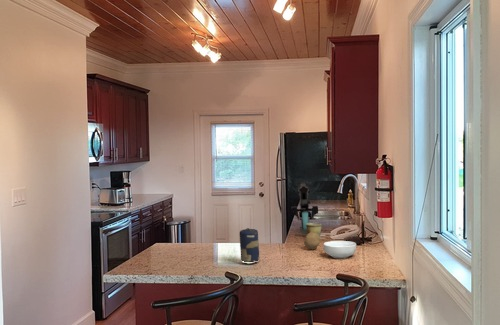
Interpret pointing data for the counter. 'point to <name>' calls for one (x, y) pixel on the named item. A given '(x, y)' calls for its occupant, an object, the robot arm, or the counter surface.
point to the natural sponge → (312, 241)
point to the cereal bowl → (340, 248)
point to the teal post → (305, 220)
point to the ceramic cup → (314, 228)
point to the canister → (249, 245)
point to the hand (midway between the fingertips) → (305, 219)
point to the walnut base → (302, 233)
